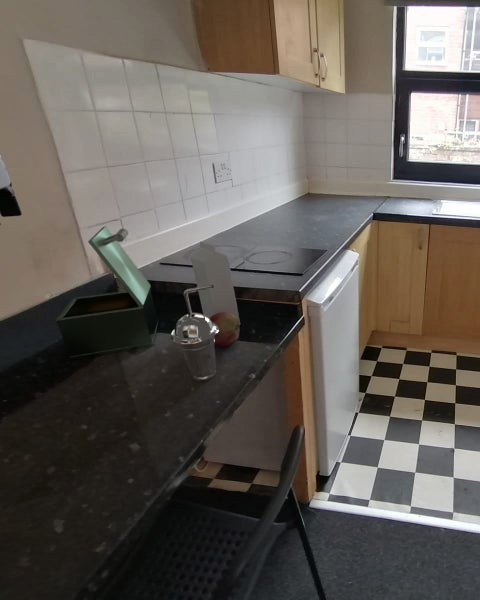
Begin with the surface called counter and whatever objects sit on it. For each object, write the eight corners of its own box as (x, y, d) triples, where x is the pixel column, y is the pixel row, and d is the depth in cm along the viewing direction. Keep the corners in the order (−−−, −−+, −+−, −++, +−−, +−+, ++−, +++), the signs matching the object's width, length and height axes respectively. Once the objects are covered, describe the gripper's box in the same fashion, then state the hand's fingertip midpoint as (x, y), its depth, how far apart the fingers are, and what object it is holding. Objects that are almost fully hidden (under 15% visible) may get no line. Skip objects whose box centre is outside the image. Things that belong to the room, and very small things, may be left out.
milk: (227, 319, 107) (211, 238, 98) (240, 325, 104) (226, 242, 95) (205, 328, 102) (187, 243, 93) (219, 334, 99) (201, 248, 90)
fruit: (226, 356, 90) (219, 325, 86) (200, 350, 92) (192, 319, 89) (250, 340, 96) (245, 310, 93) (225, 334, 99) (219, 305, 96)
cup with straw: (205, 360, 88) (185, 275, 80) (237, 368, 85) (221, 281, 77) (172, 381, 81) (147, 290, 73) (207, 391, 78) (184, 297, 70)
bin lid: (87, 241, 81) (112, 231, 82) (102, 227, 92) (124, 218, 93) (139, 307, 90) (161, 296, 91) (147, 287, 100) (167, 278, 101)
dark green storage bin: (71, 360, 88) (55, 320, 84) (86, 334, 99) (73, 297, 95) (153, 346, 94) (142, 307, 90) (159, 323, 105) (149, 287, 101)
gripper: (-40, 125, 77) (-3, 214, 84) (-98, 126, 63) (-49, 233, 70) (10, 124, 80) (41, 211, 87) (-35, 125, 65) (6, 229, 72)
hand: (1, 221), depth 78 cm, fingers open, 9 cm apart
